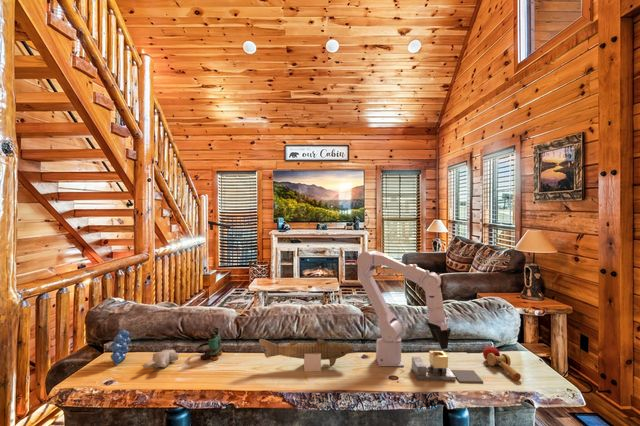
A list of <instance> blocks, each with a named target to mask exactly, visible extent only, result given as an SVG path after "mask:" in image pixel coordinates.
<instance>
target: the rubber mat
mask: <svg viewBox="0 0 640 426" xmlns="http://www.w3.org/2000/svg"><path fill="white" fill-rule="evenodd" d="M450 370H451V371H452V373H453V374H454V375H455V377H456V380H457V382H458V383H459V384H460V383H461V384H462V383H464V384H465V383H467V384H470V383H471V384H476V383H477V384H484V381H483V379H482V378H481V377H480V376H479V375H478V374H477V373H476V371H475V370H473V369H470V370H469V369H467V370H465V369H450Z"/></svg>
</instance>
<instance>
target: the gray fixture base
mask: <svg viewBox="0 0 640 426" xmlns="http://www.w3.org/2000/svg"><path fill="white" fill-rule="evenodd" d="M436 356H441V355H439V354H436ZM410 366H411V370H412V373H413V375H414V376H415V378H416V380H417V381H428V382H429V381H430V382H431V381H435V382H438V381H439V382H440V381H441V382H456V380H457V379H456V377H455V375H454V374H453V373H452V371H451V370H452V369H450V367H449V366H448V368H433V366H432V365H431V363H430V362H429V364H425V363H424V361H423V360H422V358H421V356H411V365H410Z"/></svg>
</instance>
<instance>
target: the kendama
mask: <svg viewBox="0 0 640 426" xmlns="http://www.w3.org/2000/svg"><path fill="white" fill-rule="evenodd" d="M482 356H483V358H484V359H485V360H486V361H487V364H488V365H489V366H495V365H500V366H501V368H502V369H503V371H505V372H506V373H507V374H508V375H509V376H510V377H511V379H512V380H513V381H515V382H518V381H520V380H521V377H522V375H521V373H519V372H518V371H517V370H515V368H513V367H511V362H512V361H511V357H510V356H509V355H508V354H507V353H500V351H499V349H498V348H496V347H494V346H486V347H485V348H484V349H483V351H482Z"/></svg>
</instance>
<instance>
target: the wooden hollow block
mask: <svg viewBox="0 0 640 426" xmlns="http://www.w3.org/2000/svg"><path fill="white" fill-rule="evenodd" d="M444 352H445V351H444V350H429V353H428V354H429V359H428V361H429V364H430V363H431V365H432V366H433V368H448V367H449V356H447V355H446V354H445V353H444ZM436 354H439V355H441V356H436Z"/></svg>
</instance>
